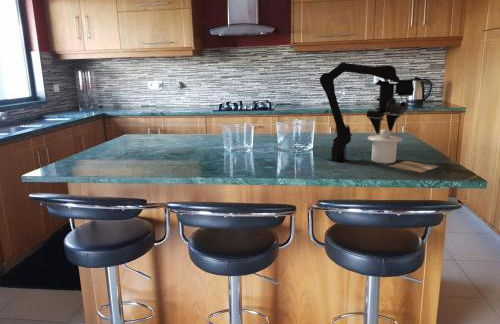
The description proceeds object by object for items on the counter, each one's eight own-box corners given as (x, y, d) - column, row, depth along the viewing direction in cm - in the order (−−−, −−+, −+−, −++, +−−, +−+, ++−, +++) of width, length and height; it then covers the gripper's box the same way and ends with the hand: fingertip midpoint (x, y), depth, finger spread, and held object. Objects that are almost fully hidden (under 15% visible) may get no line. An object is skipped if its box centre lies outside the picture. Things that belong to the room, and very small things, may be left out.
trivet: (420, 174, 151) (420, 172, 151) (388, 167, 162) (388, 166, 161) (438, 168, 159) (438, 166, 159) (406, 162, 170) (406, 160, 170)
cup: (369, 163, 169) (370, 140, 167) (373, 158, 178) (375, 137, 175) (393, 165, 165) (395, 142, 162) (397, 160, 173) (398, 138, 171)
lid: (389, 144, 159) (390, 133, 158) (361, 139, 170) (361, 129, 169) (408, 139, 168) (409, 129, 167) (380, 135, 178) (380, 126, 177)
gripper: (390, 98, 153) (387, 137, 157) (416, 95, 164) (413, 132, 168) (366, 96, 162) (364, 134, 166) (392, 94, 173) (390, 129, 177)
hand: (384, 132), depth 169 cm, fingers open, 9 cm apart
